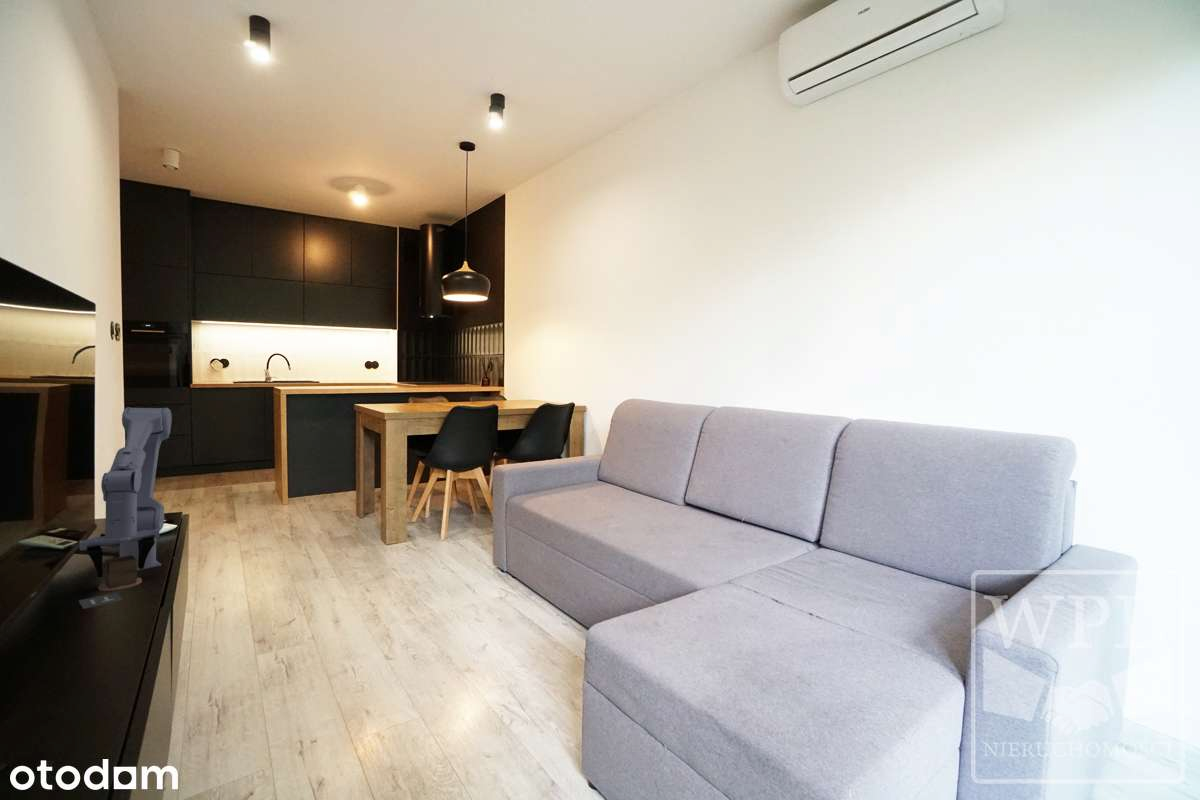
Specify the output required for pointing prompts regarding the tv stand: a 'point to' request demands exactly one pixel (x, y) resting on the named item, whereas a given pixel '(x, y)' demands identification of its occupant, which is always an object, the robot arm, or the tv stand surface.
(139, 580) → the coaster
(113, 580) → the walnut block
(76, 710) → the tv stand surface
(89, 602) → the board
